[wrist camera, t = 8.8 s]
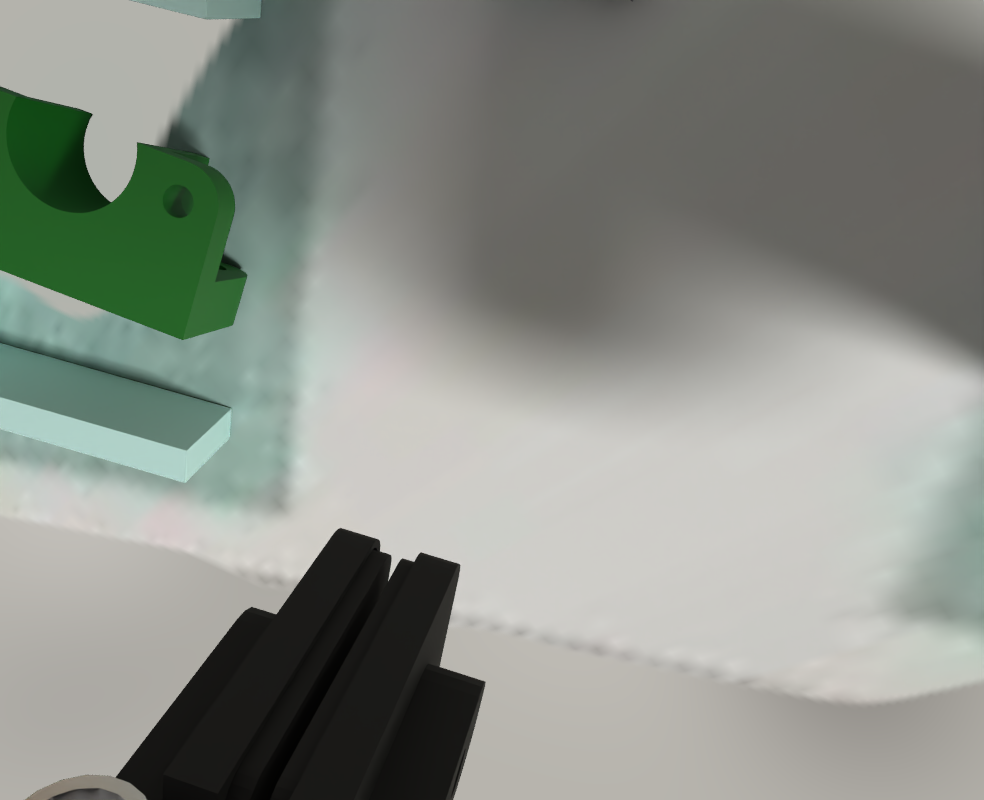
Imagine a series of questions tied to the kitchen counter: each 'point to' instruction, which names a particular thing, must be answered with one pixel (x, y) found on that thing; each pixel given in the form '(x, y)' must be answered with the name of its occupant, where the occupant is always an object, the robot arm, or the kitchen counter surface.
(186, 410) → the end holder
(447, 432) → the kitchen counter surface
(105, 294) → the clamp
